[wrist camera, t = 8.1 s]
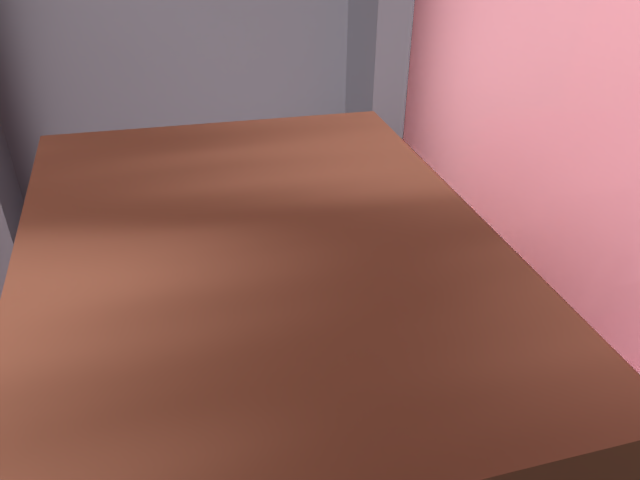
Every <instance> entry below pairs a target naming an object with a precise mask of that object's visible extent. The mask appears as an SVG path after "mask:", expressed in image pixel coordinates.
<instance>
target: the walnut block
mask: <svg viewBox="0 0 640 480" xmlns="http://www.w3.org/2000/svg"><path fill="white" fill-rule="evenodd" d="M0 480H640V375H639V374H638V373H637V372H636V371H635V370H634V369H633V368H632V367H631V366H630V365H629V364H628V363H627V362H626V361H625V360H624V359H623V358H622V357H621V356H620V355H619V354H618V353H617V352H616V351H615V350H614V349H613V348H612V347H611V346H610V345H609V344H608V343H607V342H606V341H605V340H604V339H603V338H602V337H601V336H600V335H599V334H598V333H597V332H596V331H595V330H594V329H593V328H592V327H591V326H590V325H589V324H588V323H587V322H586V321H585V320H584V319H583V318H582V317H581V316H580V315H579V314H578V313H577V312H576V311H575V310H574V309H573V308H572V307H571V306H570V305H569V304H568V303H567V302H566V301H565V300H564V299H563V298H562V297H561V296H560V295H559V294H558V293H557V292H556V291H555V290H554V289H553V288H552V287H551V286H550V285H549V284H548V283H547V282H546V281H545V280H544V279H543V278H542V277H541V276H540V275H539V274H538V273H537V272H536V271H535V270H534V269H533V268H532V267H531V266H530V265H529V264H528V263H526V262H525V261H524V260H523V259H522V258H521V257H520V256H519V255H518V254H517V253H516V252H515V251H514V250H513V249H512V248H511V247H510V246H509V245H508V244H507V243H506V242H505V241H504V240H503V239H502V238H501V237H500V236H499V235H498V234H497V233H496V232H495V231H494V230H493V229H492V228H491V227H490V226H489V225H488V224H487V223H486V222H485V221H484V220H483V219H482V218H481V217H480V216H479V215H478V214H477V213H476V212H475V211H474V210H473V209H472V208H471V207H470V206H469V205H468V204H467V203H466V202H465V201H464V200H463V199H462V198H461V197H460V196H459V195H458V194H457V193H456V192H455V191H454V190H453V189H452V188H451V187H450V186H449V185H448V184H447V183H446V182H445V181H444V180H443V179H442V178H441V177H440V176H439V175H438V174H437V173H436V172H435V171H434V170H433V169H432V168H431V167H430V166H429V165H428V164H427V163H426V162H425V161H424V160H423V159H422V158H421V157H420V156H419V155H418V154H417V153H416V152H415V151H414V150H413V149H412V148H410V147H409V146H408V145H407V144H406V143H405V142H404V141H403V140H402V139H401V138H400V137H399V136H398V135H397V134H396V133H395V132H394V131H393V130H392V129H391V128H390V127H389V126H388V125H387V124H386V123H385V122H384V121H383V120H382V119H381V118H380V117H379V116H378V115H377V114H376V113H375V112H374V111H367V112H353V113H340V114H327V115H313V116H300V117H286V118H273V119H259V120H246V121H232V122H219V123H206V124H192V125H179V126H165V127H152V128H138V129H125V130H111V131H98V132H85V133H71V134H58V135H44V136H40V140H39V144H38V148H37V152H36V156H35V160H34V164H33V168H32V172H31V176H30V180H29V185H28V189H27V193H26V197H25V201H24V205H23V209H22V213H21V217H20V221H19V225H18V229H17V233H16V237H15V242H14V246H13V250H12V254H11V258H10V262H9V266H8V270H7V274H6V278H5V282H4V286H3V290H2V294H1V298H0Z"/></svg>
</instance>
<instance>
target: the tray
mask: <svg viewBox="0 0 640 480" xmlns="http://www.w3.org/2000/svg"><path fill="white" fill-rule="evenodd" d="M414 2H415V0H0V298H1V294H2V290H3V286H4V282H5V278H6V274H7V270H8V266H9V262H10V258H11V254H12V250H13V246H14V242H15V237H16V233H17V229H18V225H19V221H20V217H21V213H22V209H23V205H24V201H25V197H26V193H27V189H28V185H29V180H30V176H31V172H32V168H33V164H34V160H35V156H36V152H37V148H38V144H39V140H40V136H44V135H58V134H71V133H85V132H98V131H111V130H125V129H138V128H152V127H165V126H179V125H192V124H206V123H219V122H232V121H246V120H259V119H273V118H286V117H300V116H313V115H327V114H340V113H353V112H367V111H374V112H375V113H376V114H377V115H378V116H379V117H380V118H381V119H382V120H383V121H384V122H385V123H386V124H387V125H388V126H389V127H390V128H391V129H392V130H393V131H394V132H395V133H396V134H397V135H398V136H399V137H400V138H401V139H402V140H403V130H404V119H405V107H406V95H407V84H408V72H409V60H410V49H411V37H412V25H413V13H414Z"/></svg>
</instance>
